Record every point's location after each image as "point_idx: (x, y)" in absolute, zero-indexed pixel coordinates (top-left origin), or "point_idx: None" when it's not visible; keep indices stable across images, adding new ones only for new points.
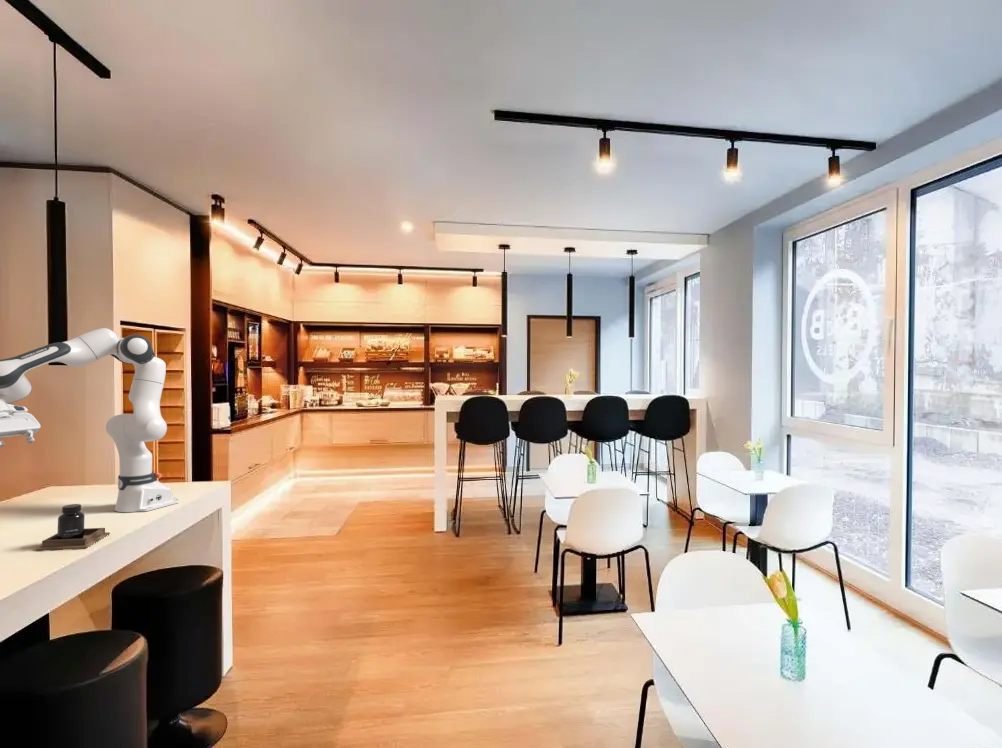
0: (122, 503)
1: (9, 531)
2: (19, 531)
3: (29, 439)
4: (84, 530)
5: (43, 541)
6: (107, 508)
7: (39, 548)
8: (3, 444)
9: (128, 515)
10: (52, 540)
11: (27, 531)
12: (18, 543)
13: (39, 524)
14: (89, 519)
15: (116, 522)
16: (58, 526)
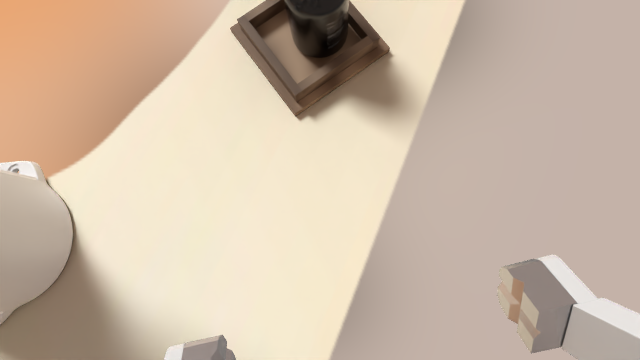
0: (44, 224)
1: (344, 311)
2: (330, 282)
3: (218, 352)
4: (271, 52)
5: (377, 35)
6: (51, 323)
7: (385, 43)
8: (513, 264)
9: (86, 170)
10: (363, 21)
11: (318, 260)
12: (383, 156)
13: (263, 314)
14: (163, 232)
15: (151, 127)
16: (348, 5)
